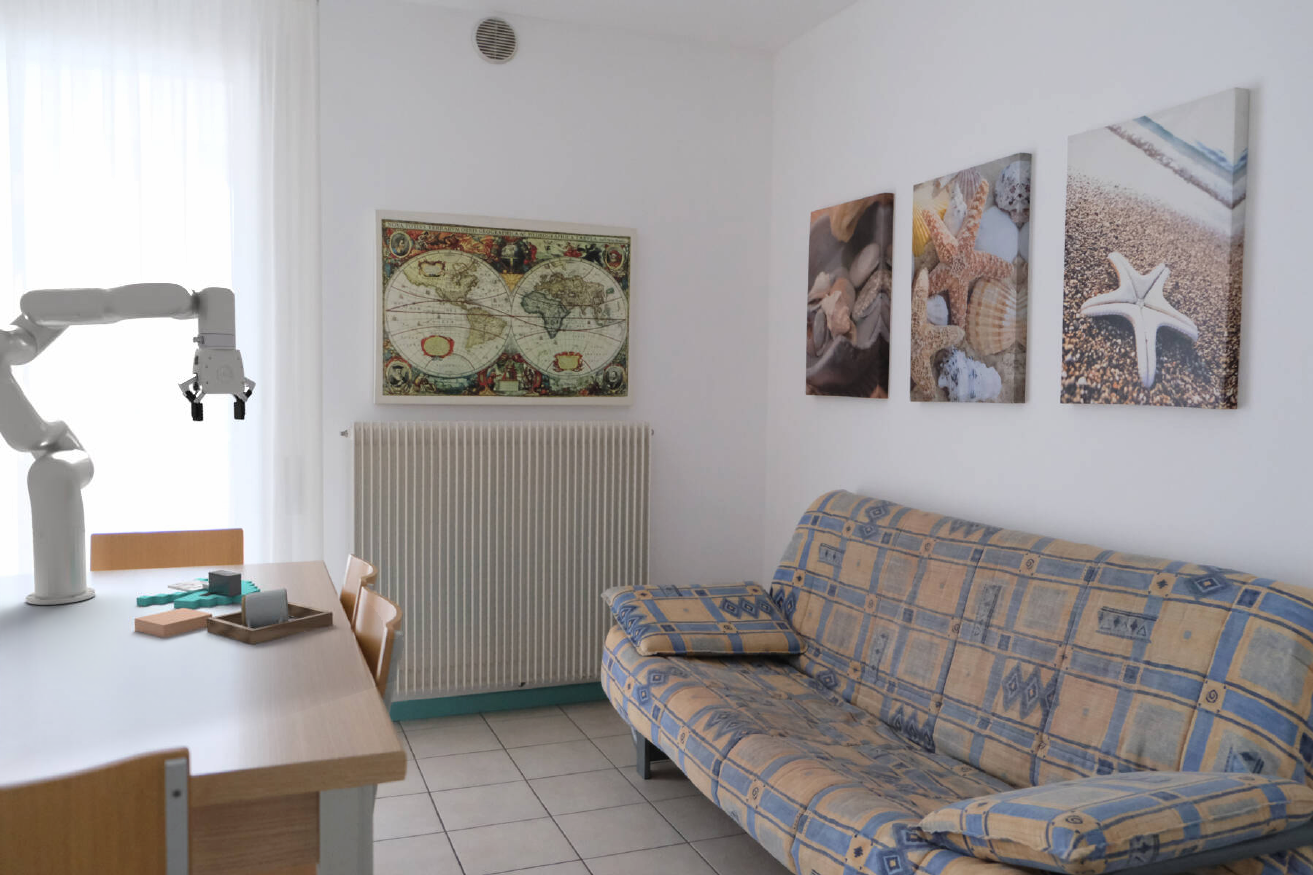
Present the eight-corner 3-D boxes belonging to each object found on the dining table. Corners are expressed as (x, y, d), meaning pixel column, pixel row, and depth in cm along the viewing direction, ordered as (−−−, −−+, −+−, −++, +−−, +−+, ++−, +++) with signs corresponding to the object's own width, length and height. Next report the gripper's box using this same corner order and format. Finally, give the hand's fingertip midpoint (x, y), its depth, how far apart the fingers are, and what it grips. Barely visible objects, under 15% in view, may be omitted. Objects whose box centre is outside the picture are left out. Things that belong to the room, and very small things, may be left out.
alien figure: (136, 608, 201) (221, 613, 197) (136, 597, 200) (221, 603, 197) (199, 587, 220) (278, 592, 216) (199, 577, 220) (278, 582, 216)
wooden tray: (206, 631, 181) (206, 618, 181) (287, 613, 195) (286, 601, 195) (252, 644, 172) (252, 630, 172) (332, 624, 186) (332, 612, 186)
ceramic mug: (243, 626, 184) (242, 587, 184) (288, 622, 187) (288, 584, 187) (240, 642, 175) (239, 600, 174) (288, 637, 177) (287, 597, 177)
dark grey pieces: (249, 592, 206) (249, 572, 206) (220, 598, 200) (219, 577, 200) (197, 581, 216) (197, 562, 216) (167, 587, 210) (167, 567, 210)
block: (134, 618, 181) (163, 625, 176) (183, 607, 190) (212, 613, 185) (134, 632, 181) (163, 639, 177) (183, 620, 190) (212, 627, 185)
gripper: (188, 341, 202) (190, 422, 203) (262, 344, 216) (264, 419, 217) (169, 342, 206) (171, 421, 207) (243, 344, 220) (245, 418, 221)
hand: (219, 420), depth 212 cm, fingers open, 9 cm apart
